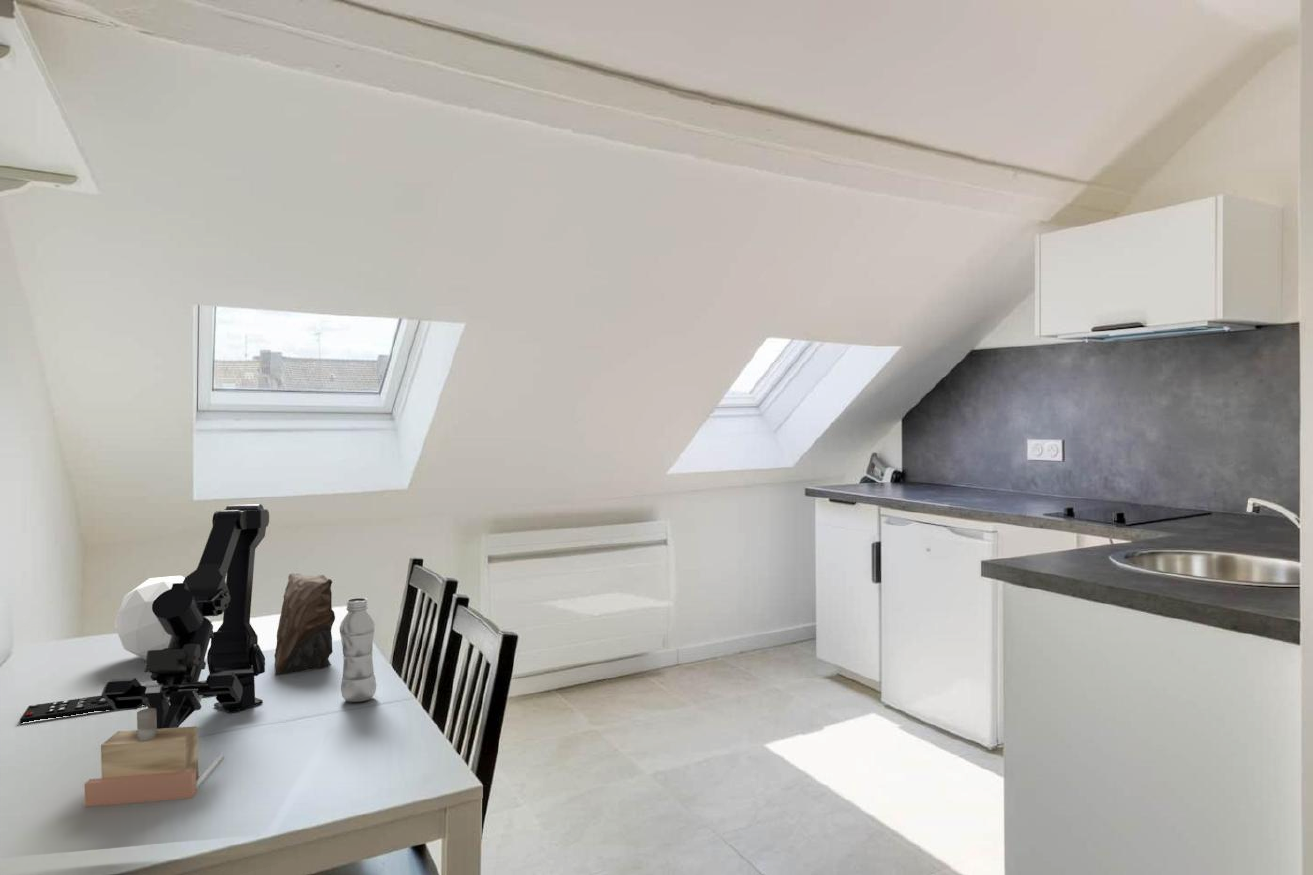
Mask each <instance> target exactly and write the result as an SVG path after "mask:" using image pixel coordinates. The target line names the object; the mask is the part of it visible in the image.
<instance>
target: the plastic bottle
mask: <svg viewBox="0 0 1313 875" xmlns="http://www.w3.org/2000/svg"><path fill="white" fill-rule="evenodd" d="M367 609H368V599H367V598H366V597H355V598H354V597H353V598H350V599H347V601H346V611H347V613H346V615H345V616H344V617H343V619H342V621H341V622H340V625H339V634H340V641H341V646H342V655H343V656H342V657H343V658H342V659H343V669H342V679H341V684H340V692H341V697H342V698H343V700H345V702H349V703H361V702H366V701H368V700H371V699H373V697H374V696H375V695H376V693H377V692H376V691H377V679H376V676H375V675H376V674H375V670H374V662H373V661H374V660H373V652H374V650H373V644H374V638H375V637H374V636H375V627H376V624H375V621H374V620H373V618H372V616H371V615H370V614H369V613H368V612H367Z"/></svg>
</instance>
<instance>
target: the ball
mask: <svg viewBox="0 0 1313 875" xmlns="http://www.w3.org/2000/svg"><path fill="white" fill-rule="evenodd" d="M184 579H185V577H184V576H182V575H171V576H162V577H161V576H160V577H149V578H148V579H146V580H145V581H144V582H141V584H139V585H137V587H135V588H134V589H132V590H131V591H129V592H127V593H126V594H125V595H124V596H123V598H122V601H121V603H120V606H119V609H118V612H117V614H116V617H115V620H114V622H113V625H114V627H115V630H116V632H117V635H118V638H119V639H120V642H121V645H122V647H123V649H124V650H125V651H127V652H129V653H131V654H133V655H136V656H137V657H139V658H141V659H143V660H145V661H146V657H147V651H149V650H163V649H164V648H168V645H169V642H170V639H171V635H169V634H168V633H166V632H165V630H164V629H163V627H162V625H161V624H160V622H159V621H158V619H157V618H156V616H155V614H154V613H153V611H152V604H153V602H154V600H156V598H157V597H158V596H159V595H160V594H162V593H163V592H165V591H167V590H170V589H171V588H172V585H173V583H183V581H184ZM214 617H215V616H206V617H205V618H207V619H208V620H209V621H210V622H211V623H212V622H213V620H214V619H213V618H214Z"/></svg>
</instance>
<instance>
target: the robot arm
mask: <svg viewBox="0 0 1313 875" xmlns="http://www.w3.org/2000/svg"><path fill="white" fill-rule="evenodd" d="M211 522H212V527H211V530H210V532H209V534H208V538H207V541H206V544H205V545H204V549H203V551H202V555H201V557H200V559H199V562H198V565H197V567H196V569H194V571H192V572H190V573H189V574H188V575H187V576H186V577H184V578H185V579H184V581H183V583H173V585H172V588H171V589H170V590H167V591H165V592H163V593H162V594H160V595H159V596H158V597H157V598H156V600H154V602H153V604H152V611H153V613H154V614H155V616H156V618H157V619H158V621H159V622H160V624H161V625H162V627H163V629H164V630H165V632H166V633H168V634H169V635H171V639H170V642H169V645H168V648H164V649H163V650H149V651H147V657H146V660H145V665H144V670H143V672H144V673H150V676H149V678H150V679H151V680H152V681H154V682H155V681H156V682H155V683H146V684H145V685H141V683H140V681H139V680H138V678H136V677H127V678H111V679H110V680H109V681H108V682H106V683H105V684H104V686H103V689H102V691H101V695H102V696H103V697H104V699H105V700H106V701H107V702H108V703H109V705H110V706H111V707H112V708H113V709H114V711H130V710H131V711H132V710H133V711H134V710H137V709H139V708H140V707H143V706H142V705H143V703H145V704H146V706H145V707H147V709H148V708H155V709H156V714H157V729H162V728H177V727H181V725H182V723H184V722H185V721H186V719H188V718H189V717H190V716H191V714H193V713H194V712H195V711H200V710H201V709H202V705H201V701H202V698H204V697H203V695H213V694H217V695H215V699H216V701H217V702H215V703H214V704H213V706H214V707H215V708H216V709H219V710H223V711H225V712H227V713H230V714H231V713H235V712H238V711H241V710H242V711H243V710H244V709H247V708H252V707H254V706H258V705H261V704H263V703H264V701H263V699H261V698H258V697H256V684H255V683H256V682H255V677H258V676H259V675H261V674H264V673H265V672H266V668H265V667H266V657H265V656H264V653H263V651H262V649H261V647H260V645H259V643H258V635H257V633H256V632H255V630H254V627H252V625H251V611H252V610H251V609H252V595H253V580H254V570H255V569H254V568H255V557H256V555H255V554H256V549H257V548H258V546H259V545H260V544H261V542H262V541H263V539H264V538H265V537H266V532H267V531H266V530H267V527H268V526H269V524H270V513H269V509H267V508H266V509H264V505H262V503H261V504H259V503H257V504H256V503H255V504H254V503H253V504H252V503H251V504H228V505H227V506H226V507H225V509H221V510H216V511H215V512H214V513H213V516H212V521H211ZM220 615H221V616H222V615H223V617H222V623H221V625H220V626H219V628H218V629H217V630H216V631H214V630H213V629H214V625H213V624H212V623H211V622H210V621H209V620H208V619H207V618H205V617H206V616H214V617H218V616H220ZM209 644H210V647H209ZM208 647H209V649H208ZM205 658H206V661H207V663H206V661H205ZM206 665H207V668H208V673H209V674H208V675H207V677H206V682H202V683H198V681H199V680H200V678H201V677H200V676H201V672H202V670H205V669H206ZM101 695H100V696H101ZM213 696H214V695H213ZM170 697H171V699H170ZM169 699H170V702H168V700H169Z"/></svg>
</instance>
